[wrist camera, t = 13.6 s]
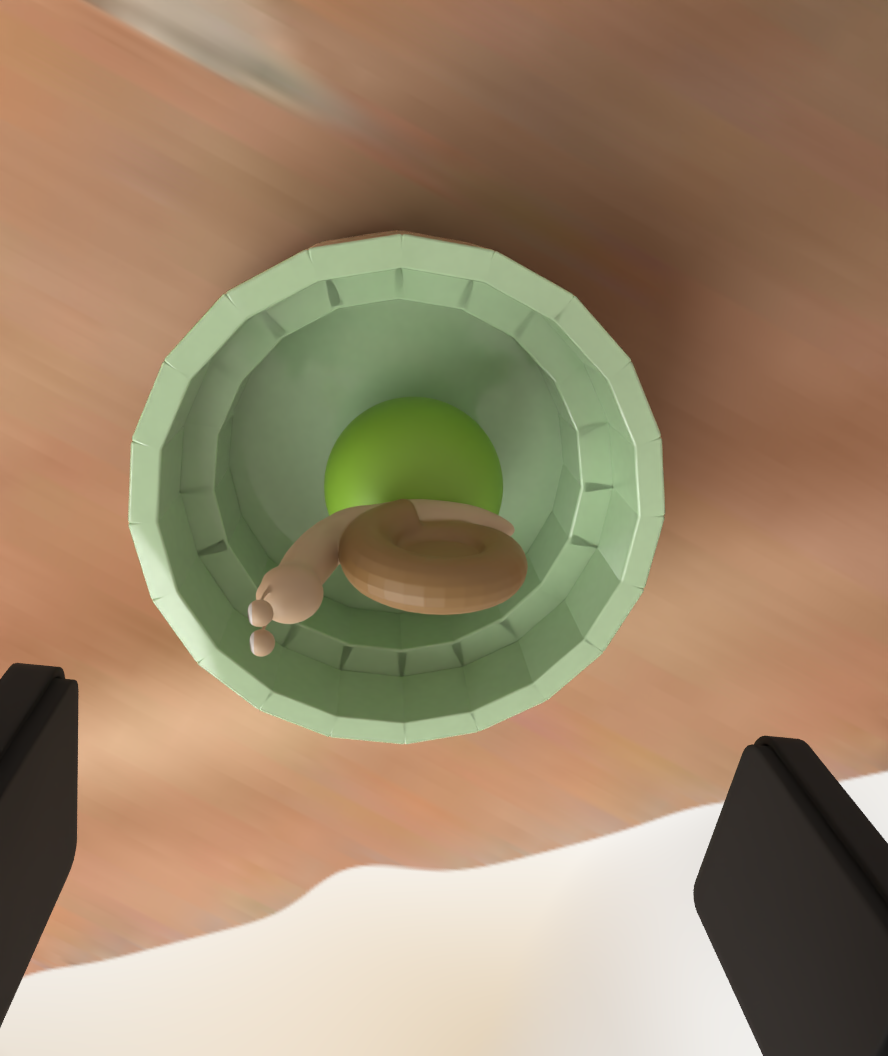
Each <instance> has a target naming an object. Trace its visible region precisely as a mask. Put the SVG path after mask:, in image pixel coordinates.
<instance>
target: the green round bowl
mask: <svg viewBox="0 0 888 1056" xmlns="http://www.w3.org/2000/svg"><path fill="white" fill-rule="evenodd" d="M401 397H426V398H432V399H436V400H439V401H442V402H445V403H448V404H450V405H452V406H454V407H456V408H458V409H460V410H461V411H463V412H464V413H466V414H467V415H468V416H470V417H471V418H472V419H473V420H474V421H475V422H476V423H477V424H478V425H479V426H480V427H481V428H482V429H483V430H484V432H485V433H486V434H487V436H488V437H489V439H490V441H491V442H492V444H493V446H494V448H495V450H496V453H497V455H498V458H499V461H500V465H501V469H502V476H503V497H502V503H501V508H500V511H499V516H501V517H503V518H504V519H506V520H507V521H509V522H510V523H511V524H512V525H513V526H514V529H515V531H514V533H513V534H512V535H511V536H510V537H512V538H513V539H514V540H516V542H517V543H518V544H519V545H520V546H521V547H522V549H523V551H524V553H525V556H526V559H527V564H528V569H527V574H526V578H525V581H524V583H523V584H522V586H521V587H520V588H519V590H518V591H517V592H516V593H515V594H514V595H513V596H512V597H510V598H509V599H508V600H506V601H505V602H503V603H500V604H498V605H496V606H494V607H491V608H488V609H484V610H480V611H476V612H471V613H464V614H452V615H433V614H421V613H414V612H408V611H404V610H400V609H396V608H392V607H389V606H387V605H384V604H381V603H379V602H376V601H374V600H372V599H371V598H369V597H367V596H365V595H364V594H362V593H361V592H360V591H358V590H357V589H356V588H355V587H354V586H353V585H352V584H351V583H350V582H349V580H348V579H347V577H346V576H345V574H344V572H343V570H342V567H341V564H339V565H338V566H337V567H336V569H335V570H334V571H333V573H332V574H331V575H330V577H329V578H328V579H327V580H326V581H325V583H324V584H323V585H322V586H323V600H322V603H321V605H320V607H319V608H318V610H317V611H316V612H315V613H314V614H313V615H312V616H311V617H309V618H308V619H306V620H304V621H301V622H298V623H294V624H284V623H279V622H276V621H274V620H271V622H270V623H269V624H267V626H266V628H265V630H267V631H269V632H270V633H272V635H273V636H274V639H275V646H274V649H273V650H272V652H271V653H270V654H268V655H266V656H256V655H255V654H253V653H252V651H251V649H250V636H251V634H252V633H253V632H254V631H256V630H259V629H262V627H256V626H254V625H252V624H251V623H250V622H249V619H248V607H249V605H250V603H252V602H253V601H255V600H256V592H257V589H258V587H259V586H260V584H261V582H262V579H263V577H264V575H265V574H266V573H267V572H268V571H270V570H271V569H273V568H275V567H277V566H279V564H280V562H281V560H282V559H283V557H284V555H285V554H286V552H287V551H288V550H289V548H290V547H291V546H292V545H293V544H294V543H295V542H296V541H297V539H298V538H299V537H300V536H301V535H302V534H303V533H304V532H306V531H307V530H308V529H309V528H311V527H312V526H313V525H315V524H316V523H317V522H319V521H321V520H323V519H324V518H326V517H328V516H329V514H328V510H327V507H326V502H325V494H324V478H325V470H326V465H327V462H328V458H329V455H330V453H331V450H332V448H333V446H334V444H335V442H336V441H337V439H338V437H339V436H340V434H341V433H342V432H343V430H344V429H345V428H346V427H347V426H348V425H349V424H350V423H351V422H352V421H353V420H354V419H355V418H356V417H357V416H359V415H360V414H361V413H363V412H364V411H366V410H367V409H369V408H371V407H373V406H375V405H377V404H379V403H382V402H384V401H387V400H391V399H395V398H401ZM660 436H661V433H660V430H659V428H658V425H657V423H656V420H655V418H654V415H653V413H652V410H651V408H650V405H649V403H648V400H647V398H646V395H645V393H644V390H643V388H642V385H641V383H640V380H639V378H638V375H637V373H636V370H635V368H634V365H633V363H632V362H631V359H630V358H629V356H628V355H627V354H626V353H625V352H624V351H623V350H622V348H621V347H620V346H619V345H618V344H617V343H616V342H615V340H614V339H613V338H612V337H611V336H610V335H609V334H608V332H607V331H606V330H605V329H604V328H603V327H602V326H601V324H600V323H599V322H598V321H597V320H596V319H595V318H594V316H593V315H592V314H591V313H590V312H589V311H588V310H587V308H586V307H585V306H584V305H583V304H582V303H581V302H580V300H579V299H578V298H577V297H576V296H574V295H573V294H572V293H570V292H569V291H567V290H565V289H563V288H561V287H560V286H558V285H556V284H554V283H553V282H551V281H549V280H547V279H546V278H544V277H542V276H540V275H538V274H537V273H535V272H533V271H531V270H530V269H528V268H526V267H524V266H522V265H521V264H519V263H517V262H515V261H514V260H512V259H510V258H508V257H507V256H505V255H503V254H501V253H499V252H498V251H495V250H492V249H489V248H485V247H482V246H479V245H475V244H472V243H468V242H463V241H457V240H452V239H446V238H441V237H435V236H430V235H424V234H418V233H413V232H407V231H402V230H397V231H396V230H392V231H385V232H379V233H372V234H366V235H359V236H353V237H347V238H340V239H334V240H327V241H323V242H319V243H317V244H315V245H313V246H311V247H309V248H307V249H305V250H303V251H301V252H299V253H297V254H295V255H294V256H292V257H290V258H288V259H286V260H284V261H282V262H281V263H279V264H277V265H275V266H273V267H271V268H269V269H267V270H266V271H264V272H262V273H260V274H258V275H256V276H254V277H252V278H251V279H249V280H247V281H245V282H243V283H241V284H239V285H238V286H236V287H234V288H232V289H230V290H228V291H227V292H226V293H224V294H223V295H222V296H221V297H220V298H219V299H218V300H217V301H216V302H215V304H214V305H213V306H212V307H211V308H210V309H209V310H208V311H207V312H206V313H205V315H204V316H203V317H202V318H201V319H200V320H199V321H198V322H197V323H196V324H195V326H194V327H193V328H192V329H191V330H190V331H189V332H188V333H187V334H186V336H185V337H184V338H183V339H182V340H181V341H180V342H179V343H178V344H177V345H176V347H175V348H174V349H173V350H172V351H171V352H170V353H169V354H168V355H167V357H166V358H165V361H164V362H163V363H162V365H161V368H160V370H159V372H158V375H157V377H156V380H155V382H154V385H153V387H152V390H151V392H150V395H149V397H148V399H147V402H146V404H145V407H144V409H143V412H142V414H141V417H140V419H139V422H138V424H137V426H136V429H135V431H134V434H133V436H132V440H133V441H132V442H131V454H130V481H129V507H128V521H129V529H130V532H131V535H132V538H133V542H134V545H135V548H136V551H137V554H138V558H139V561H140V564H141V567H142V571H143V574H144V577H145V580H146V583H147V587H148V590H149V593H150V596H151V598H152V599H153V602H154V604H155V605H156V607H157V608H158V609H159V611H160V612H161V614H162V615H163V616H164V618H165V619H166V620H167V622H168V623H169V625H170V626H171V627H172V629H173V630H174V632H175V633H176V634H177V636H178V637H179V639H180V640H181V641H182V643H183V644H184V646H185V647H186V648H187V650H188V651H189V653H190V654H191V655H192V657H193V658H194V659H195V661H196V662H198V664H199V665H200V666H201V667H202V668H204V669H205V670H206V671H208V672H209V673H210V674H212V675H213V676H214V677H216V678H217V679H218V680H219V681H221V682H222V683H223V684H225V685H226V686H227V687H229V688H230V689H231V690H233V691H234V692H235V693H237V694H238V695H239V696H241V697H242V698H243V699H245V700H246V701H247V702H249V703H250V704H251V705H253V706H254V707H255V708H257V709H259V710H260V711H262V712H265V713H267V714H270V715H273V716H275V717H278V718H281V719H283V720H286V721H288V722H291V723H294V724H296V725H299V726H301V727H304V728H307V729H309V730H312V731H315V732H317V733H320V734H322V735H325V736H328V737H329V736H330V737H334V738H344V739H354V740H365V741H375V742H385V743H396V744H404V743H405V744H410V743H416V742H422V741H428V740H434V739H440V738H446V737H452V736H458V735H464V734H470V733H476V732H478V731H482V730H484V729H486V728H488V727H491V726H493V725H495V724H497V723H499V722H501V721H504V720H506V719H508V718H510V717H512V716H515V715H517V714H519V713H521V712H523V711H525V710H528V709H530V708H532V707H534V706H536V705H538V704H541V703H543V702H545V701H546V700H548V699H549V698H551V697H552V696H553V695H554V694H555V693H557V692H558V691H559V690H560V689H561V688H562V687H564V686H565V685H566V684H567V683H568V682H569V681H571V680H572V679H573V678H574V677H575V676H577V675H578V674H579V673H580V672H581V671H582V670H584V669H585V668H586V667H587V666H588V665H590V664H591V663H592V662H593V661H594V660H595V659H597V658H598V657H599V656H600V655H601V654H602V653H603V651H605V649H606V648H607V646H608V645H609V643H610V642H611V640H612V638H613V637H614V635H615V634H616V632H617V631H618V629H619V628H620V626H621V625H622V623H623V622H624V620H625V619H626V617H627V616H628V614H629V613H630V611H631V609H632V608H633V606H634V605H635V603H636V602H637V600H638V599H639V597H640V596H641V594H642V593H643V591H644V589H643V588H644V587H645V585H646V582H647V578H648V575H649V571H650V568H651V564H652V561H653V557H654V554H655V550H656V546H657V543H658V539H659V536H660V532H661V529H662V525H663V522H664V515H665V494H664V473H663V451H662V439H661V437H660Z"/></svg>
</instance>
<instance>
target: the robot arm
mask: <svg viewBox="0 0 888 1056" xmlns="http://www.w3.org/2000/svg"><path fill="white" fill-rule="evenodd" d="M77 777H78V683H77V681H76V680H70V679H65V675H64V671H63V669H62V668H61V667H53V666H43V665H33V664H23V663H15V664H13V665H12V666H11V667H9V669H8V670H7V671H6V673H5V674H4V675H3V676H2V678H1V679H0V1027H1V1025H2V1022H3V1020H4V1018H5V1016H6V1013H7V1011H8V1009H9V1007H10V1005H11V1002H12V1000H13V998H14V996H15V993H16V991H17V989H18V986H19V984H20V982H21V980H22V978H23V975H24V973H25V971H26V969H27V966H28V964H29V962H30V960H31V957H32V955H33V953H34V951H35V948H36V946H37V944H38V942H39V939H40V937H41V935H42V933H43V930H44V928H45V926H46V924H47V921H48V919H49V917H50V915H51V912H52V910H53V908H54V906H55V903H56V901H57V899H58V897H59V894H60V892H61V890H62V888H63V886H64V883H65V881H66V879H67V877H68V874H69V872H70V869H71V867H72V863H73V860H74V856H75V851H76V844H77ZM694 903H695V907H696V910H697V913H698V915H699V917H700V919H701V922H702V924H703V926H704V928H705V930H706V933H707V935H708V937H709V939H710V941H711V943H712V946H713V948H714V950H715V952H716V954H717V956H718V959H719V961H720V963H721V965H722V967H723V969H724V971H725V974H726V976H727V978H728V980H729V983H730V985H731V987H732V989H733V991H734V993H735V996H736V997H737V1000H738V1002H739V1004H740V1006H741V1009H742V1011H743V1013H744V1015H745V1017H746V1019H747V1022H748V1024H749V1026H750V1028H751V1030H752V1032H753V1035H754V1037H755V1039H756V1041H757V1043H758V1046H759V1048H760V1050H761V1052H762V1054H763V1056H888V843H887V842H886V841H885V840H884V838H883V837H882V836H881V835H880V833H879V832H878V831H877V830H876V828H875V827H874V826H873V825H872V824H871V822H870V821H869V820H868V819H867V817H866V816H865V815H864V814H863V812H862V811H861V810H860V809H859V807H858V806H857V805H856V804H855V802H854V801H853V800H852V799H851V797H850V796H849V795H848V794H847V793H846V791H845V790H844V789H843V787H842V786H841V785H840V784H839V782H838V781H837V780H836V779H835V777H834V776H833V775H832V774H831V773H830V771H829V770H828V769H827V768H826V766H825V765H824V764H823V763H822V761H821V760H820V759H819V758H818V756H817V755H816V754H815V753H814V751H813V750H812V749H811V748H810V746H809V745H808V744H807V743H806V742H804V741H803V740H800V739H793V738H783V737H773V736H762V737H760V738H759V739H758V740H756V742H755V744H754V745H748V746H747V747H746V748H745V750H744V751H743V753H742V756H741V759H740V762H739V764H738V767H737V770H736V772H735V775H734V778H733V781H732V783H731V786H730V789H729V791H728V794H727V797H726V800H725V802H724V805H723V808H722V811H721V813H720V816H719V819H718V822H717V824H716V827H715V829H714V832H713V835H712V838H711V840H710V843H709V846H708V848H707V851H706V854H705V857H704V859H703V862H702V865H701V867H700V870H699V873H698V876H697V878H696V882H695V885H694Z"/></svg>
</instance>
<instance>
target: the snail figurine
mask: <svg viewBox="0 0 888 1056" xmlns="http://www.w3.org/2000/svg"><path fill="white" fill-rule="evenodd" d="M324 494H325V502H326V507H327V510H328V514H329V516H328V517H326V518H324V519H323V520H321V521H319V522H317V523H316V524H315V525H313V526H312V527H311V528H309V529H308V530H307V531H306V532H304V533H303V534H302V535H301V536H300V537H299V538H298V539H297V541H296V542H295V543H294V544H293V545H292V546H291V547H290V548H289V550H288V551H287V552H286V554H285V555H284V557H283V559H282V560H281V562H280V564H279V566H277V567H275V568H273V569H271V570H270V571H268V572H267V573H266V574H265V575H264V577H263V579H262V582H261V584H260V586H259V587H258V589H257V592H256V600H255V601H253V602H252V603H250V605H249V607H248V619H249V622H250V623H251V624H252V625H254V626H256V627H262V629H259V630H256V631H254V632H253V633H252V634H251V636H250V649H251V651H252V653H253V654H255V655H256V656H266V655H268V654H270V653H271V652H272V650H273V649H274V646H275V639H274V636H273V635H272V633H270V632H269V631H267V630H265V628H266V626H267V624H269V623H270V622H271V620H274V621H276V622H279V623H284V624H294V623H298V622H301V621H304V620H306V619H308V618H309V617H311V616H312V615H313V614H314V613H315V612H316V611H317V610H318V608H319V607H320V605H321V603H322V600H323V586H322V585H323V584H324V583H325V581H326V580H327V579H328V578H329V577H330V575H331V574H332V573H333V571H334V570H335V569H336V567H337V566H338V565H339V564H341V567H342V570H343V572H344V574H345V576H346V577H347V579H348V580H349V582H350V583H351V584H352V585H353V586H354V587H355V588H356V589H357V590H358V591H360V592H361V593H362V594H364V595H365V596H367V597H369V598H371V599H372V600H374V601H376V602H379V603H381V604H384V605H387V606H389V607H392V608H396V609H400V610H404V611H408V612H414V613H421V614H433V615H452V614H464V613H471V612H476V611H480V610H484V609H488V608H491V607H494V606H496V605H498V604H500V603H503V602H505V601H506V600H508V599H509V598H510V597H512V596H513V595H514V594H515V593H516V592H517V591H518V590H519V588H520V587H521V586H522V584H523V583H524V581H525V578H526V574H527V569H528V564H527V559H526V556H525V553H524V551H523V549H522V547H521V546H520V545H519V544H518V543H517V542H516V540H514V539H513V538H512V537H510V536H511V535H512V534H513V533H514V531H515V529H514V526H513V525H512V524H511V523H510V522H509V521H507V520H506V519H504V518H503V517H501V516H499V511H500V508H501V503H502V497H503V476H502V469H501V465H500V461H499V458H498V455H497V453H496V450H495V448H494V446H493V444H492V442H491V441H490V439H489V437H488V436H487V434H486V433H485V432H484V430H483V429H482V428H481V427H480V426H479V425H478V424H477V423H476V422H475V421H474V420H473V419H472V418H471V417H470V416H468V415H467V414H466V413H464V412H463V411H461V410H460V409H458V408H456V407H454V406H452V405H450V404H448V403H445V402H442V401H439V400H436V399H432V398H426V397H401V398H395V399H391V400H387V401H384V402H382V403H379V404H377V405H375V406H373V407H371V408H369V409H367V410H366V411H364V412H363V413H361V414H360V415H359V416H357V417H356V418H355V419H354V420H353V421H352V422H351V423H350V424H349V425H348V426H347V427H346V428H345V429H344V430H343V432H342V433H341V434H340V436H339V437H338V439H337V441H336V442H335V444H334V446H333V448H332V450H331V453H330V455H329V458H328V462H327V465H326V470H325V478H324Z"/></svg>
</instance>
